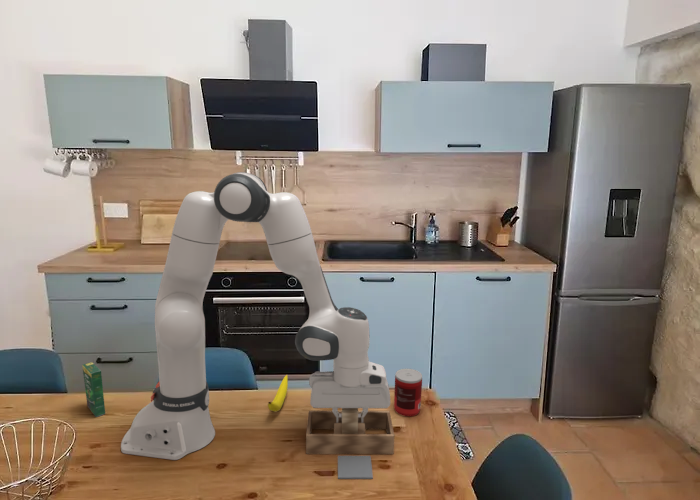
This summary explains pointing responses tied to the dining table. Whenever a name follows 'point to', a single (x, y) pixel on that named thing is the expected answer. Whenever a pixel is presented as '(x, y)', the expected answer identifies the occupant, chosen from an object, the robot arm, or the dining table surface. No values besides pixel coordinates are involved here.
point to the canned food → (407, 392)
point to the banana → (279, 396)
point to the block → (349, 420)
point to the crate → (349, 442)
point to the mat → (354, 467)
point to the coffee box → (94, 389)
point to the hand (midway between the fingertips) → (349, 421)
